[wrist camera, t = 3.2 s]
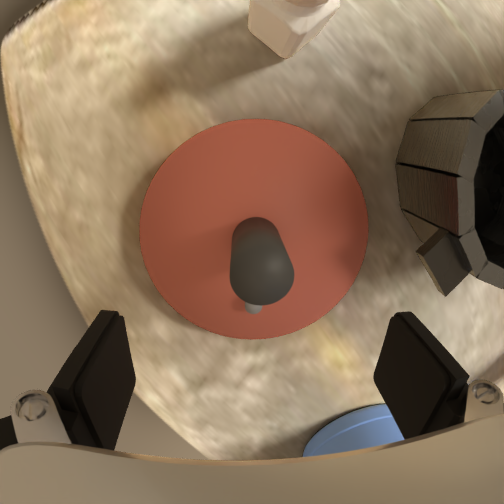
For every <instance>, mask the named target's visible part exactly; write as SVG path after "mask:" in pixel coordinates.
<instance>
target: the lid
mask: <svg viewBox="0 0 504 504" xmlns="http://www.w3.org/2000/svg"><path fill="white" fill-rule="evenodd" d="M367 241H368V214H367V209H366V203H365V200H364V196H363V193H362V190H361V187H360V185H359V183H358V181H357V179H356V177H355V175H354V174H353V172H352V171H351V169H350V168H349V166H348V165H347V163H346V162H345V161H344V160H343V158H342V157H341V156H340V155H339V154H338V153H337V152H336V151H335V150H334V149H333V148H332V147H331V146H329V145H328V144H327V143H326V142H324V141H323V140H322V139H320V138H319V137H317V136H315V135H314V134H312V133H310V132H309V131H306V130H304V129H302V128H299V127H297V126H295V125H291V124H288V123H284V122H280V121H275V120H267V119H243V120H237V121H230V122H226V123H223V124H220V125H216V126H213V127H211V128H209V129H206V130H204V131H202V132H200V133H198V134H196V135H195V136H193V137H192V138H190V139H189V140H187V141H186V142H184V143H183V144H182V145H181V146H179V147H178V148H177V149H176V150H175V151H174V152H173V153H171V155H170V156H169V157H168V158H167V159H166V160H165V162H164V163H163V164H162V165H161V166H160V168H159V170H158V171H157V173H156V174H155V176H154V177H153V179H152V181H151V183H150V186H149V188H148V190H147V192H146V195H145V198H144V202H143V205H142V209H141V216H140V245H141V252H142V256H143V259H144V263H145V266H146V269H147V271H148V273H149V276H150V278H151V280H152V281H153V283H154V285H155V287H156V288H157V290H158V291H159V293H160V294H161V295H162V296H163V298H164V299H165V300H166V302H167V303H168V304H169V305H170V306H171V307H173V308H174V309H175V310H176V311H177V312H178V313H179V314H181V315H182V316H183V317H184V318H186V319H187V320H189V321H190V322H192V323H194V324H195V325H197V326H199V327H201V328H203V329H206V330H208V331H210V332H213V333H216V334H219V335H223V336H227V337H232V338H238V339H266V338H273V337H278V336H282V335H286V334H289V333H292V332H295V331H297V330H300V329H302V328H304V327H306V326H308V325H310V324H312V323H313V322H315V321H317V320H318V319H319V318H321V317H322V316H324V315H325V314H327V313H328V312H329V311H330V310H331V309H332V308H333V307H334V306H335V305H337V303H338V302H339V301H340V300H341V299H342V298H343V297H344V295H345V294H346V293H347V291H348V290H349V288H350V287H351V285H352V284H353V282H354V280H355V278H356V276H357V275H358V273H359V271H360V268H361V265H362V262H363V260H364V256H365V252H366V247H367Z"/></svg>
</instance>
